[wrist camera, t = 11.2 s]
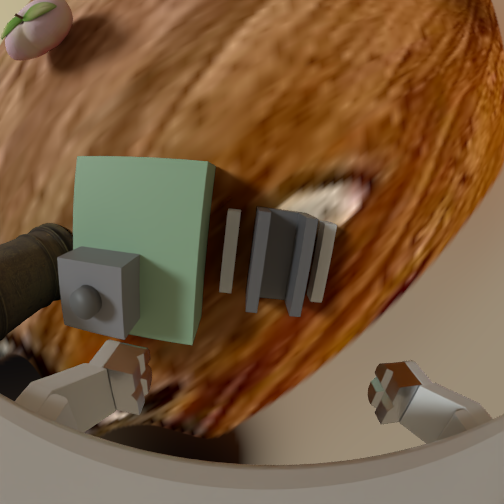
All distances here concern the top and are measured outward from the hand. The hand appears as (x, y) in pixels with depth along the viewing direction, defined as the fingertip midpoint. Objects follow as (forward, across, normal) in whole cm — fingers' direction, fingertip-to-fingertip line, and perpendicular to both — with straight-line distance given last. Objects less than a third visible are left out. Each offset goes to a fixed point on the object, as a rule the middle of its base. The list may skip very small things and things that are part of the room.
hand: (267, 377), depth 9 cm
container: (+21, +24, +4) cm, 32 cm away
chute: (+21, -2, +1) cm, 21 cm away
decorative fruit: (+21, +28, -25) cm, 43 cm away
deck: (+20, +5, +1) cm, 21 cm away
